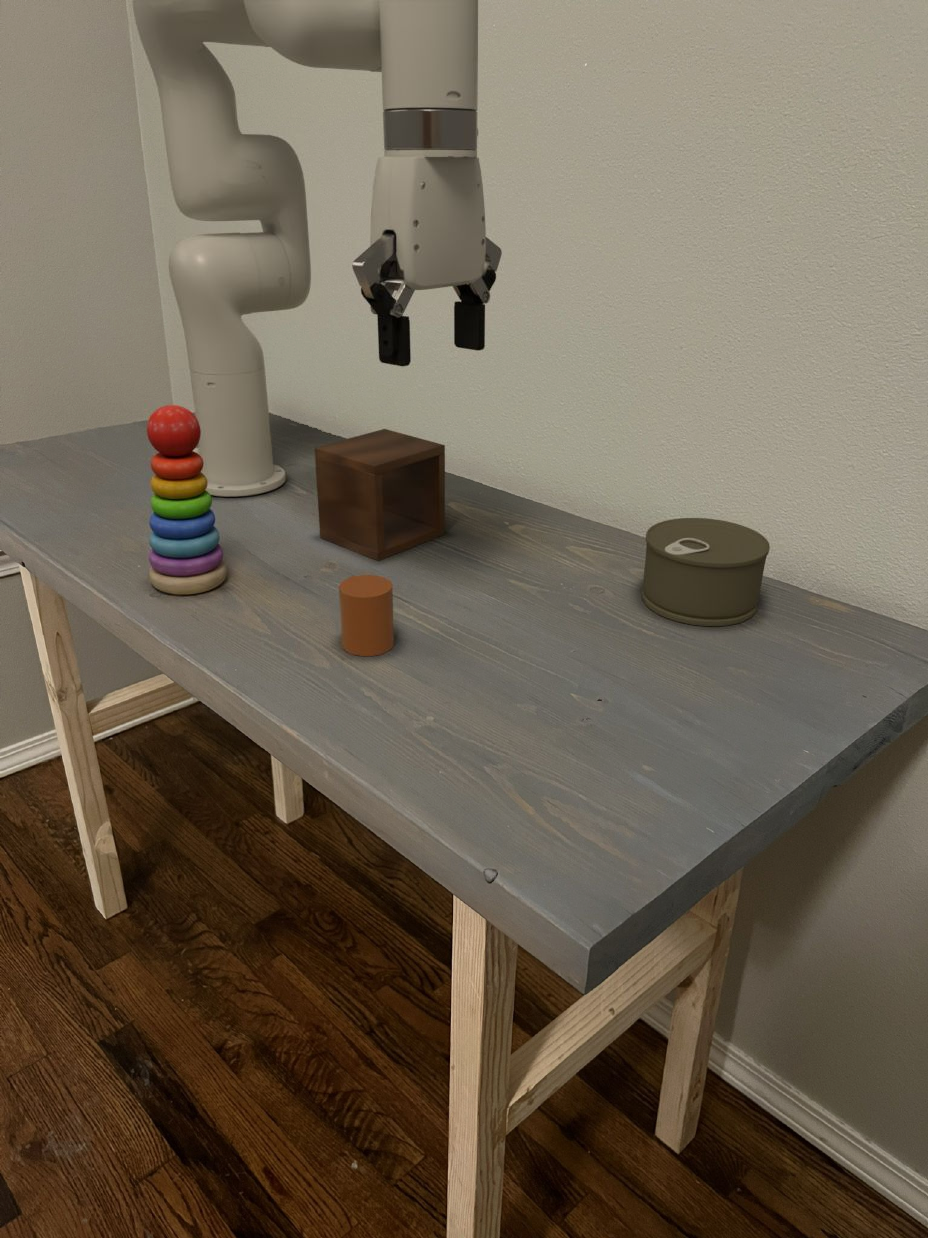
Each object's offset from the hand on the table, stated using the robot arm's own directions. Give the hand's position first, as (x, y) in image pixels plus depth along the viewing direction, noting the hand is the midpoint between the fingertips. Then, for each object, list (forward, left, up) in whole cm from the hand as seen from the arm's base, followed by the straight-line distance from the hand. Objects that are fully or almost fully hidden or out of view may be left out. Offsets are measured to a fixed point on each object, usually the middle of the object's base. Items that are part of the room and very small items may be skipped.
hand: (433, 355), depth 82 cm
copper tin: (+1, -10, -25) cm, 27 cm away
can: (+19, +20, -25) cm, 37 cm away
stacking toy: (-23, -13, -25) cm, 37 cm away
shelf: (-18, +10, -25) cm, 32 cm away
